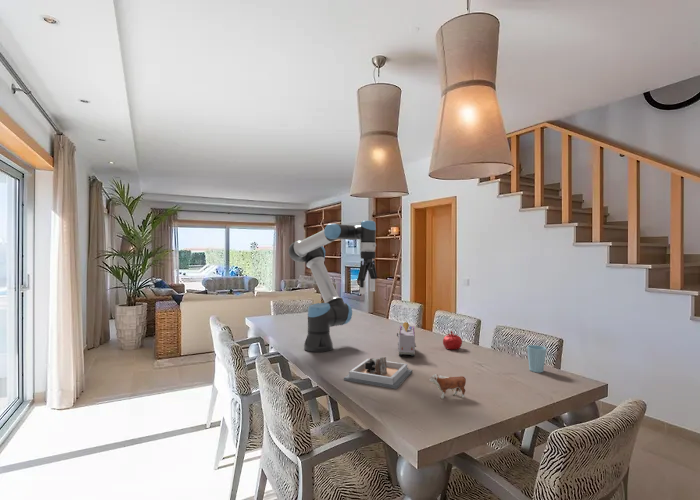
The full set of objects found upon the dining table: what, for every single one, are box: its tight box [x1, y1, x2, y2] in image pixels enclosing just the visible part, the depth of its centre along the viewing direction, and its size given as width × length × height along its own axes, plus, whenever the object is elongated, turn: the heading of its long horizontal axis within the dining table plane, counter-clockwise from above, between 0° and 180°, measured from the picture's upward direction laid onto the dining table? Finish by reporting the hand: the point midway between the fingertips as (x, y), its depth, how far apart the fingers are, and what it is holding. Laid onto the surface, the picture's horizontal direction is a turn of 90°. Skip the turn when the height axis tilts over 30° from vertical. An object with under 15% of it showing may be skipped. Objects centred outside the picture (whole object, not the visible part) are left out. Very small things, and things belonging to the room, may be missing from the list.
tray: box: [343, 358, 413, 390], centre depth 158 cm, size 22×22×4 cm
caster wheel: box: [365, 357, 387, 375], centre depth 158 cm, size 7×11×10 cm
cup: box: [526, 344, 547, 374], centre depth 168 cm, size 8×8×10 cm
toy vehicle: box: [396, 321, 417, 357], centre depth 194 cm, size 9×20×15 cm, turn 174°
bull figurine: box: [428, 373, 466, 400], centre depth 136 cm, size 4×13×8 cm, turn 94°
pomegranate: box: [442, 330, 463, 350], centre depth 204 cm, size 10×10×9 cm
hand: (367, 292), depth 194 cm, fingers open, 13 cm apart
